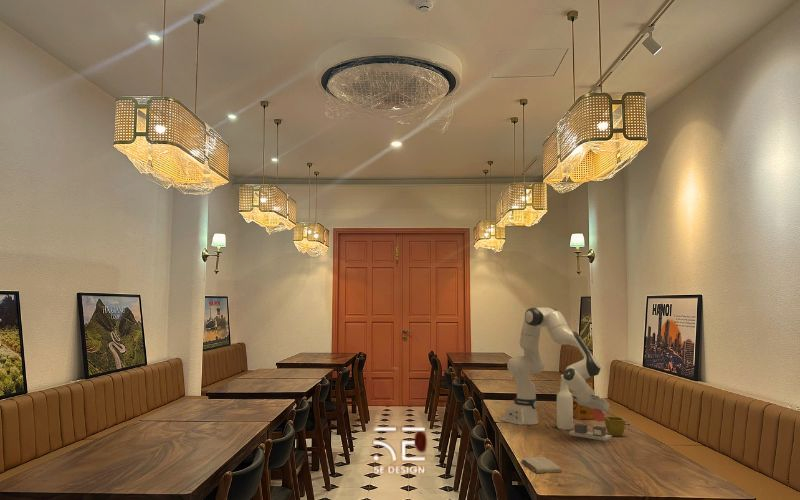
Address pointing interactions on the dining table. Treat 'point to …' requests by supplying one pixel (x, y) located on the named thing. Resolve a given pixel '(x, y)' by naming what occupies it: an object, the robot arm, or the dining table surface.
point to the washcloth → (540, 464)
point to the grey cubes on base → (597, 432)
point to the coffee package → (582, 410)
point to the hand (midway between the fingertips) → (600, 411)
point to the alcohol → (564, 407)
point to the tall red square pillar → (598, 415)
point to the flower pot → (615, 425)
